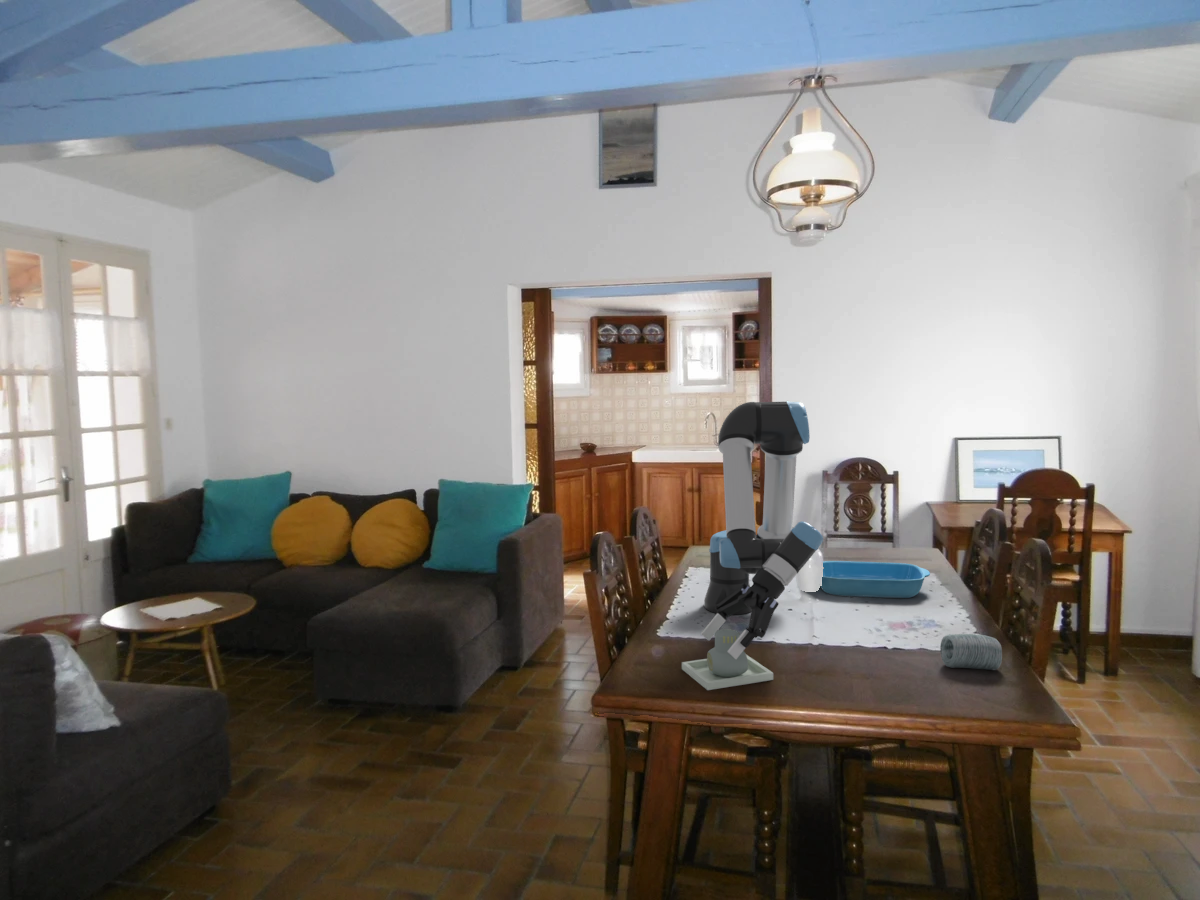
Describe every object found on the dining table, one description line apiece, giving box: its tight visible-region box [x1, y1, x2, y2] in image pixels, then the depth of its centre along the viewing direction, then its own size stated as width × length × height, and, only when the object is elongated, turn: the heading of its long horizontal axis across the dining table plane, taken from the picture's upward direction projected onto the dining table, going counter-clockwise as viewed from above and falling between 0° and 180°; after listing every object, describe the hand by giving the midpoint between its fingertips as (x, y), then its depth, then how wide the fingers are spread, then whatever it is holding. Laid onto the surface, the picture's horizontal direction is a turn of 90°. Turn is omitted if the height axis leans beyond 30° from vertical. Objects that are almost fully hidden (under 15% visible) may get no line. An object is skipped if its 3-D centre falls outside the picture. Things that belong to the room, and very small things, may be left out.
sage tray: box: [681, 654, 774, 691], centre depth 196 cm, size 14×17×2 cm
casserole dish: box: [820, 560, 931, 599], centre depth 265 cm, size 37×22×7 cm, turn 77°
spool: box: [940, 633, 1003, 671], centre depth 197 cm, size 14×10×10 cm
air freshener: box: [706, 628, 748, 677], centre depth 196 cm, size 11×8×10 cm
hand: (717, 646), depth 195 cm, fingers open, 13 cm apart
